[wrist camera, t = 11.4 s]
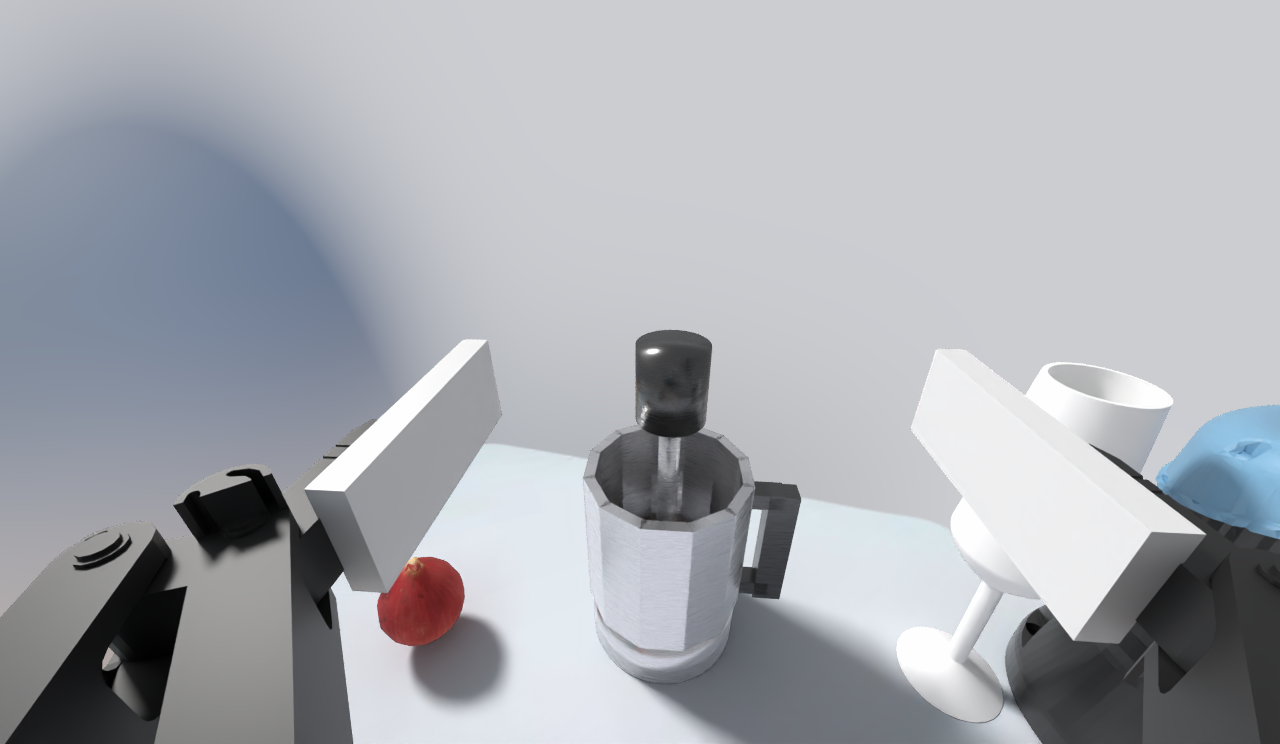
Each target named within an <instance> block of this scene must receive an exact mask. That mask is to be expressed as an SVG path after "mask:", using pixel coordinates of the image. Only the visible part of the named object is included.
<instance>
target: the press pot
mask: <svg viewBox="0 0 1280 744" xmlns="http://www.w3.org/2000/svg"><path fill="white" fill-rule="evenodd" d="M658 449H659V436H656V435H653V434H651V433H648V432H647V431H645V430H643V429H642V428H641V427H640V426H639V425H634V426H631V427H627V428H623V429H619V430H616V431H615V432H613V433H612V434H611V435H609V436H608V437H607V438H606V439H604V440H603V441H602V442H601V443H600V444H598V445H597V446H596V447H594V448H593V449H592V450H591V452H590V455H589V458H588V462H587V466H586V469H585V473H584V476H583V486H584V500H585V515H586V530H587V544H588V559H589V574H590V588H591V593H592V595H593V597H594V609H595V624H596V630H597V634H598V637H599V640H600V642H601V644H602V646H603V648H604V650H605V651H606V653H607V654H608V656H609V657H610V658H611V659H612V660H613V662H614V663H615V664H616V665H618V666H619V667H620V668H621V669H622V670H624V671H625V672H627V673H629V674H630V675H632V676H634V677H636V678H639V679H641V680H644V681H648V682H652V683H659V684H673V683H680V682H684V681H687V680H690V679H693V678H695V677H697V676H699V675H701V674H702V673H704V672H705V671H707V670H708V669H709V668H710V667H711V666H712V665H713V664H714V663H715V662H716V661H717V660H718V659H719V657H720V656H721V654H722V652H723V651H724V649H725V646H726V644H727V641H728V637H729V633H730V626H731V620H732V613H733V608H734V606H735V604H736V602H737V599H738V593H748V594H752V597H755V598H770V599H779V597H780V593H781V588H782V584H783V579H784V575H785V570H786V566H787V561H788V557H789V552H790V548H791V543H792V539H793V534H794V530H795V525H796V521H797V516H798V512H799V507H800V503H801V497H800V494H799V491H798V488H797V486H796V485H791V484H782V483H773V482H755V481H754V480H753V476H752V471H751V467H750V462H749V458H748V457H747V456H746V455H745V454H744V453H743V452H741V451H740V450H739V449H738V448H737V447H736V446H735V445H734V444H733V443H731V442H730V441H729V440H728V439H727V438H726V437H725V436H724V435H721V434H718V433H715V432H713V431H710V430H707V429H704V428H702V429H701V430H700V431H698V432H697V433H694V434H692V435H689V436H685V437H681V440H680V458H679V476H678V493H677V511H676V522H670V521H656V518H657V484H658ZM752 509H760V510H762V513H761V519H760V525H759V531H758V536H757V542H756V548H755V554H754V560H753V566H752V567H743V561H744V555H745V548H746V542H747V536H748V529H749V523H750V517H751V510H752Z"/></svg>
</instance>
